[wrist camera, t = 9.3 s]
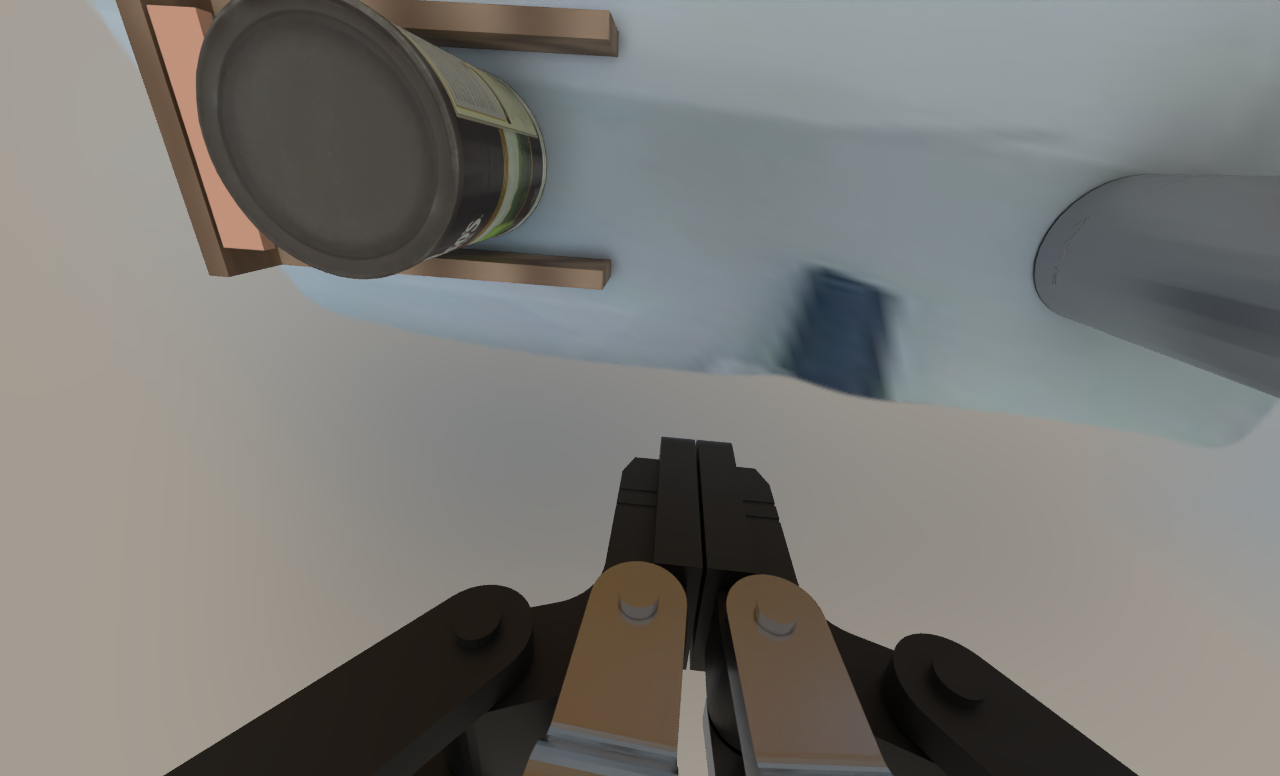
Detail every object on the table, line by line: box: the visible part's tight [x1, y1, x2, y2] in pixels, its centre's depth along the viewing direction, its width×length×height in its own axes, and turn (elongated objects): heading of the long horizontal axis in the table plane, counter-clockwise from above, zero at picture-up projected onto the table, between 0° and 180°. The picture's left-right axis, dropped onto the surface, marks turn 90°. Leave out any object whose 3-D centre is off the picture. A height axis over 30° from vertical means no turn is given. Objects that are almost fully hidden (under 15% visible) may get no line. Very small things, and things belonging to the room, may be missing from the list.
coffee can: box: [196, 0, 547, 279], centre depth 24 cm, size 10×10×14 cm
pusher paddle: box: [146, 5, 278, 251], centre depth 27 cm, size 2×11×8 cm, turn 177°
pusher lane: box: [116, 0, 619, 290], centre depth 27 cm, size 23×14×8 cm, turn 87°
